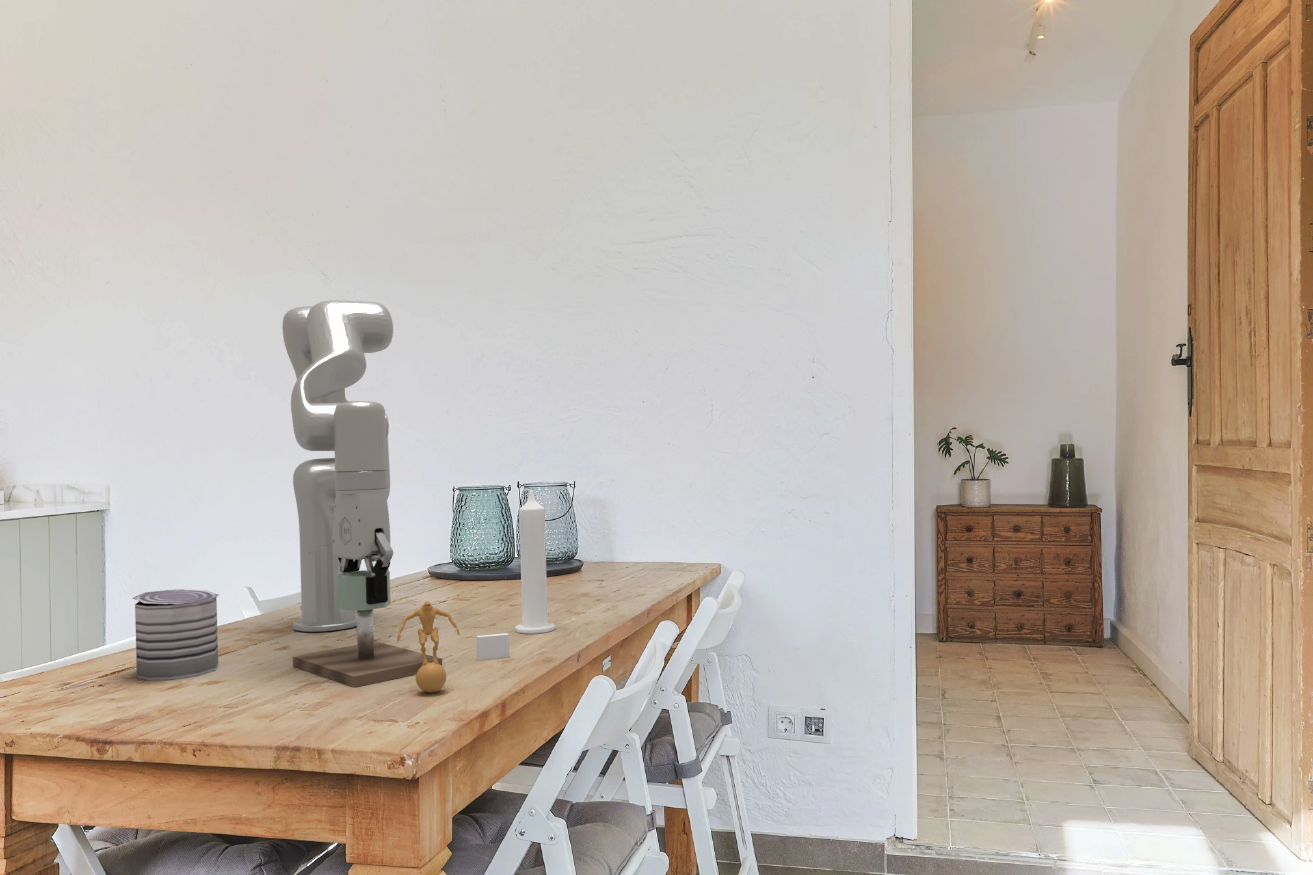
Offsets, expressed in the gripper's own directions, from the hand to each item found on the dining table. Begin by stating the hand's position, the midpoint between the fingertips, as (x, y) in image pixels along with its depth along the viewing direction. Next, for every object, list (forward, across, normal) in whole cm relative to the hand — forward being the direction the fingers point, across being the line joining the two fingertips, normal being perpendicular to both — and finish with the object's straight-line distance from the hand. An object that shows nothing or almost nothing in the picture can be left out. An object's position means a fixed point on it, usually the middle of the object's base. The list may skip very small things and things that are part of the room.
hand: (364, 599), depth 144 cm
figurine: (+10, +20, -1) cm, 23 cm away
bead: (+1, 0, 0) cm, 1 cm away
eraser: (+11, +10, +16) cm, 22 cm away
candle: (+10, -3, +34) cm, 36 cm away
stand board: (+10, 0, 0) cm, 10 cm away
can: (+10, -21, -20) cm, 31 cm away
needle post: (+9, 0, 0) cm, 9 cm away
